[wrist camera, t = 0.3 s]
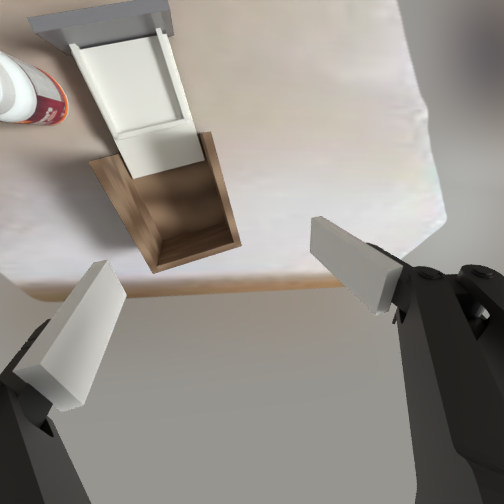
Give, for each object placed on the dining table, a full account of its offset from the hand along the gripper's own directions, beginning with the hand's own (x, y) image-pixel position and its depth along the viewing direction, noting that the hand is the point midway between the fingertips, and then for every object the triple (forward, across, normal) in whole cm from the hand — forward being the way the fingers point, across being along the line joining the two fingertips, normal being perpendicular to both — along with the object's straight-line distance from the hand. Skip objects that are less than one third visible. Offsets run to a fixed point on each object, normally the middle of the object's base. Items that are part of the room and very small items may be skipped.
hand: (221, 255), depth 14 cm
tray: (+26, -5, +11) cm, 29 cm away
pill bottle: (+27, -18, +13) cm, 35 cm away
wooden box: (+27, -4, -2) cm, 27 cm away
